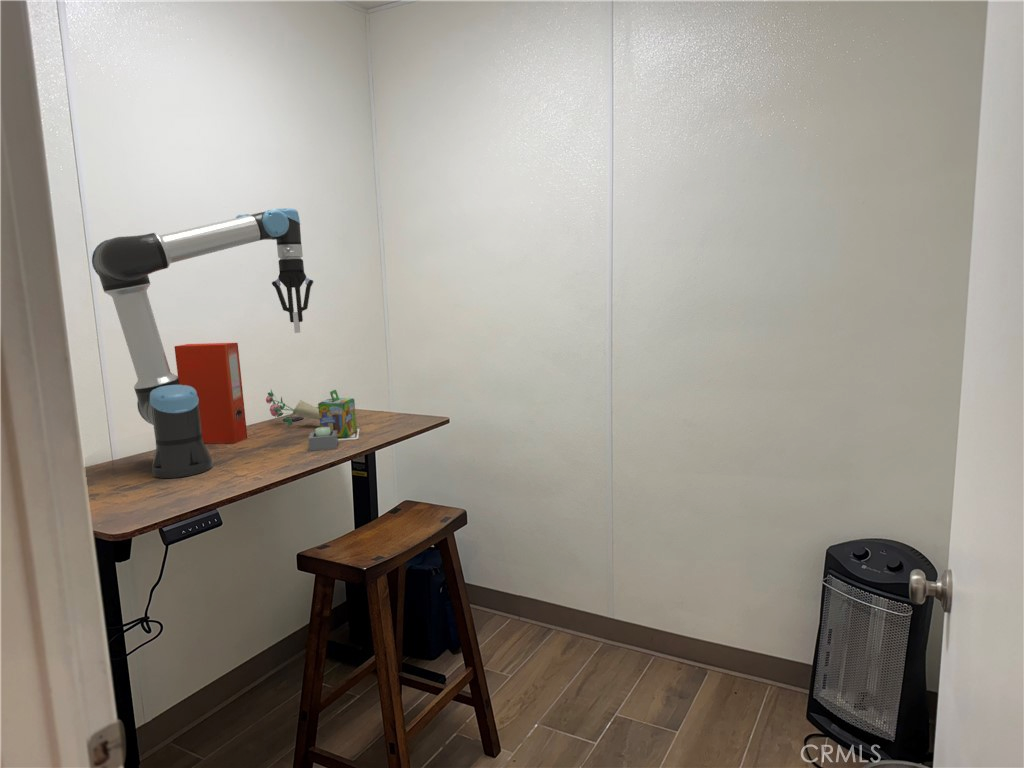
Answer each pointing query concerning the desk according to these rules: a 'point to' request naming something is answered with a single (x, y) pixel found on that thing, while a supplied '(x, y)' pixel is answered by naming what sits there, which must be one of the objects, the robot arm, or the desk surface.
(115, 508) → the desk surface
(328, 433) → the button
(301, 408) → the flower vase
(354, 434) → the white bordered panel
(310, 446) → the button housing
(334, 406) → the chalk box
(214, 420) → the file binder
